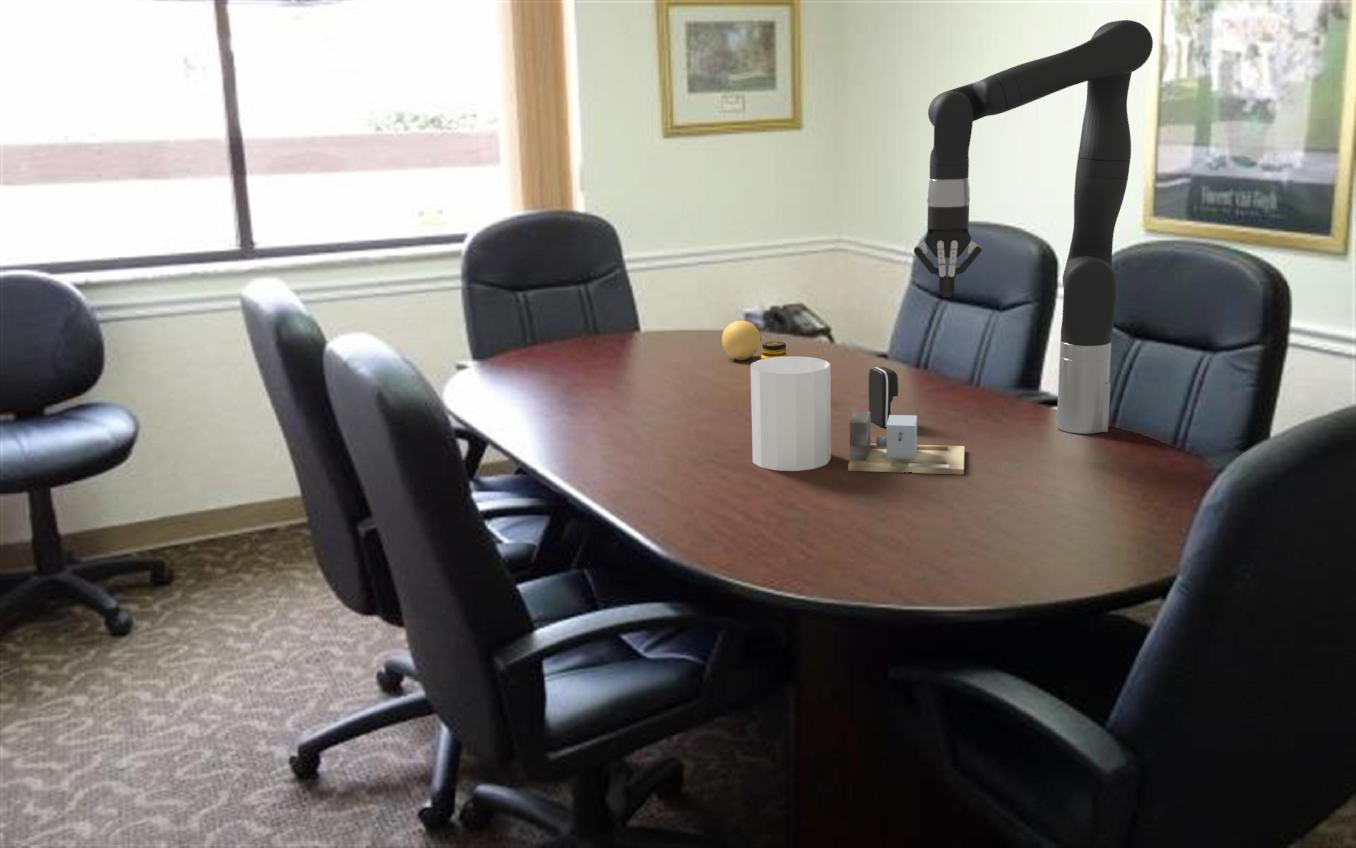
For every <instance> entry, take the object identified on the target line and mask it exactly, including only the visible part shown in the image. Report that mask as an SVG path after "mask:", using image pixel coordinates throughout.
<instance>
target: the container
mask: <svg viewBox="0 0 1356 848" xmlns="http://www.w3.org/2000/svg"><path fill="white" fill-rule="evenodd" d="M831 382H832V381H831V363H830V362H829V361H827V360H825V359H821V358H817V357H813V356H812V357H811V356H810V357H809V356H798V355H797V356H793V355H792V356H788V357H773V358H767V359H761V358H760V359H759V360H756V361H754V362H751V363H750V396H751V397H750V399H751V400H750V401H751V402H750V404H751V443H752V444H751V445H752V449H751V450H752V451H751V452H752V463H753V464H754V465H756V466H758V467H760V468H762V469H767V470H772V471H780V472H783V471H784V472H786V471H787V472H799V471H806V470H807V471H808V470H814V469H817V468H820V467H823V466H826V465H828V464H829V462H830V460H831V459H832V450H831V449H832V448H831V447H832V438H831V437H832V435H831V434H832V432H831V431H832V430H831V427H832V426H831V425H832V424H831V423H832V421H831V420H832V417H831V415H832V414H831V413H832V412H831V409H832V408H831V404H832V403H831V402H832V401H831V400H832V399H831V390H832V389H831V386H832V385H831Z"/></svg>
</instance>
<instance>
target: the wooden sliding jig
mask: <svg viewBox="0 0 1356 848" xmlns="http://www.w3.org/2000/svg"><path fill="white" fill-rule="evenodd" d="M849 421H850V422H849V462H848V465H847V467H848V468H847V471H852V472H873V473H874V472H881V473H882V472H883V473H904V472H906V474H907V473H908V472H912V474H913V473H914V474H932V475H933V474H940V475H941V474H943V475H965V474H964V473H965V472H964V471H965V445H941V444H939V445H934V444H917V451H916V457H915V459H895V458H886V453H887V447H881V446H876V443H871V420H870V412H869V411H857V410H855V411H853V412H852V416H851V419H850V420H849ZM908 474H909V473H908Z"/></svg>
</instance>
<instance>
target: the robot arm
mask: <svg viewBox="0 0 1356 848" xmlns="http://www.w3.org/2000/svg"><path fill="white" fill-rule="evenodd" d="M1153 45H1154V41H1153V36H1152V34H1151V32H1150V30H1149V29H1148V28H1147V27H1146V26H1145V25H1144V24H1142V23H1140V22H1138V21H1135V20H1131V19H1122V20H1121V19H1120V20H1114V21H1110V22H1106V23H1104V24H1103V25H1101V26H1100V27H1098V29H1097V30H1095V32H1094V33H1093V34H1092V36H1091V38H1090V40H1088V41H1086V42H1084V43H1081V44H1079V45H1077V46H1074V47H1072V48H1070V49H1066V50H1064V51H1062V52H1061V51H1060V52H1058V53H1054V54H1052V55H1049V56H1044V57H1042V58H1041V57H1040V58H1037V59H1033V60H1031V61H1026V62H1024V63H1021V64H1017V65H1015V66H1013V67H1009V68H1007V69H1003V70H1002V71H999V72H996V73H994V74H991V75H989V76H987V77H985V78H982V79H980V80H979V81H974V82H972V83H967V84H965V85H962V86H959V87H956V88H953V89H949V90H946V91H944V92H941V93H939V94H937V95H936V96H935V97H934V98H933V99H932V101H931V102H930V104H929V107H928V111H927V115H928V119H929V122H930V124H932V126H933V148H931V152H930V156H929V181H928V182H929V183H928V190H927V198H926V199H927V201H926V202H927V229H926V230H927V231H926V235H925V236H924V241H923V242H921V243H920V244H918V245H915V247H914V249H913V253H914V254H915V256H917V258H918V259H919V260H920V262H921V263H922V264H923V266H925V268H926V269H927V270H928V272H929V274H931V275H932V274H934V275H937V276H938V280H939V282H938V283H939V285H938V287H939V289H938V292H939V294H942V297H943V298H944V297H949V298H951V294H954V293H955V290H956V289H955V287H956V285H955V284H956V279H955V278H956V276H957V275H961V274H964V273H965V271H966V270H967V269H968V268H969V267H970V266H971V264H972V263H973V262H974V261H975V260H976V259H977V257H978V256H979V255H980V254H981V252H982V246H981V245H980V244H977V243H976V242H974V241H972V236H971V234H970V232H969V228H970V227H969V226H970V225H969V223H970V184H969V181H970V180H969V171H970V168H969V167H970V165H969V164H970V159H969V150H970V145H971V139H972V130H973V122H975V121H977V120H980V119H984V118H985V117H989V116H997V115H1000V114H1002V113H1006V112H1009V111H1011V110H1014V109H1016V108H1019V107H1022V106H1025V105H1026V104H1027V105H1028V104H1030V103H1032V102H1034V101H1037V100H1040V99H1042V98H1045V97H1046V96H1049V95H1052V94H1054V93H1056V92H1059V91H1062V90H1065V89H1067V88H1069V87H1072V86H1073V87H1074V86H1075V85H1079V84H1082V83H1085V82H1087V83H1086V84H1087V85H1086V88H1087V89H1086V103H1085V110H1084V115H1083V120H1082V126H1081V134H1080V140H1079V141H1080V142H1079V146H1078V147H1079V148H1078V154H1077V161H1076V167H1075V169H1076V171H1075V176H1074V177H1075V179H1074V194H1073V196H1074V197H1073V219H1074V220H1073V229H1072V237H1071V242H1070V246H1069V251H1068V255H1067V259H1066V263H1065V268H1064V269H1063V275H1062V287H1063V299H1062V300H1063V301H1062V318H1061V328H1060V343H1059V344H1060V345H1059V346H1060V347H1059V366H1058V368H1059V369H1058V383H1057V384H1058V386H1057V387H1058V389H1057V407H1056V409H1057V411H1056V427H1057V429H1058V430H1060V431H1063V432H1066V433H1071V434H1089V435H1090V434H1097V433H1108V432H1109V418H1110V417H1109V416H1110V400H1111V382H1110V374H1111V373H1110V371H1111V370H1110V369H1111V354H1112V338H1113V337H1112V336H1113V331H1114V330H1113V329H1114V325H1115V312H1116V311H1115V310H1116V298H1117V297H1116V296H1117V278H1116V275H1115V271H1114V270H1113V246H1114V245H1113V244H1114V243H1113V242H1114V233H1115V228H1116V224H1117V220H1118V218H1119V214H1120V211H1121V208H1122V205H1123V202H1124V198H1125V195H1126V194H1125V193H1126V190H1127V185H1128V181H1129V173H1130V165H1131V158H1132V138H1131V129H1130V124H1129V115H1128V94H1129V89H1130V88H1129V87H1130V83H1131V78H1132V73H1133V72H1136V71H1137V70H1139V69H1140V68H1141V67H1143V65H1145V63H1146V62H1147V61H1148V60H1149V58H1150V56H1151V55H1152V50H1153ZM927 247H928V249H929V250H930V252H931V253H932V254H933V256H934V257H936V258H937V263H938V266H936V265H935V264H934V262H933V261H932V259H930V258H929V256H928V255H927V253H928V249H927ZM967 247H968V249H967V253H968V255H967V256H966V257H965V259H964V260H963V261H961V263H960V265H958V266H956V264H957V258H959V257H960V256H961V255H962V254H963V252H964V251H965V250H966V248H967ZM946 258H948V259H949V263H948V264H949V265H948V274H947V269H946Z"/></svg>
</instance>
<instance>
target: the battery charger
mask: <svg viewBox="0 0 1356 848" xmlns="http://www.w3.org/2000/svg"><path fill="white" fill-rule="evenodd" d="M898 377H899V376H898V374H897V372H896V371H894V370H893V369H891V368H889V367H887V366H877V367H876V366H875V367H871V368H870V369H869V372H868V412H870V422H873V423H874V424H876V425H878V426H880V427H882V428H887V422H888V418H889V415H892V414H891V404H892V401H893V400H894V397H898V396H899V378H898Z"/></svg>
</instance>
